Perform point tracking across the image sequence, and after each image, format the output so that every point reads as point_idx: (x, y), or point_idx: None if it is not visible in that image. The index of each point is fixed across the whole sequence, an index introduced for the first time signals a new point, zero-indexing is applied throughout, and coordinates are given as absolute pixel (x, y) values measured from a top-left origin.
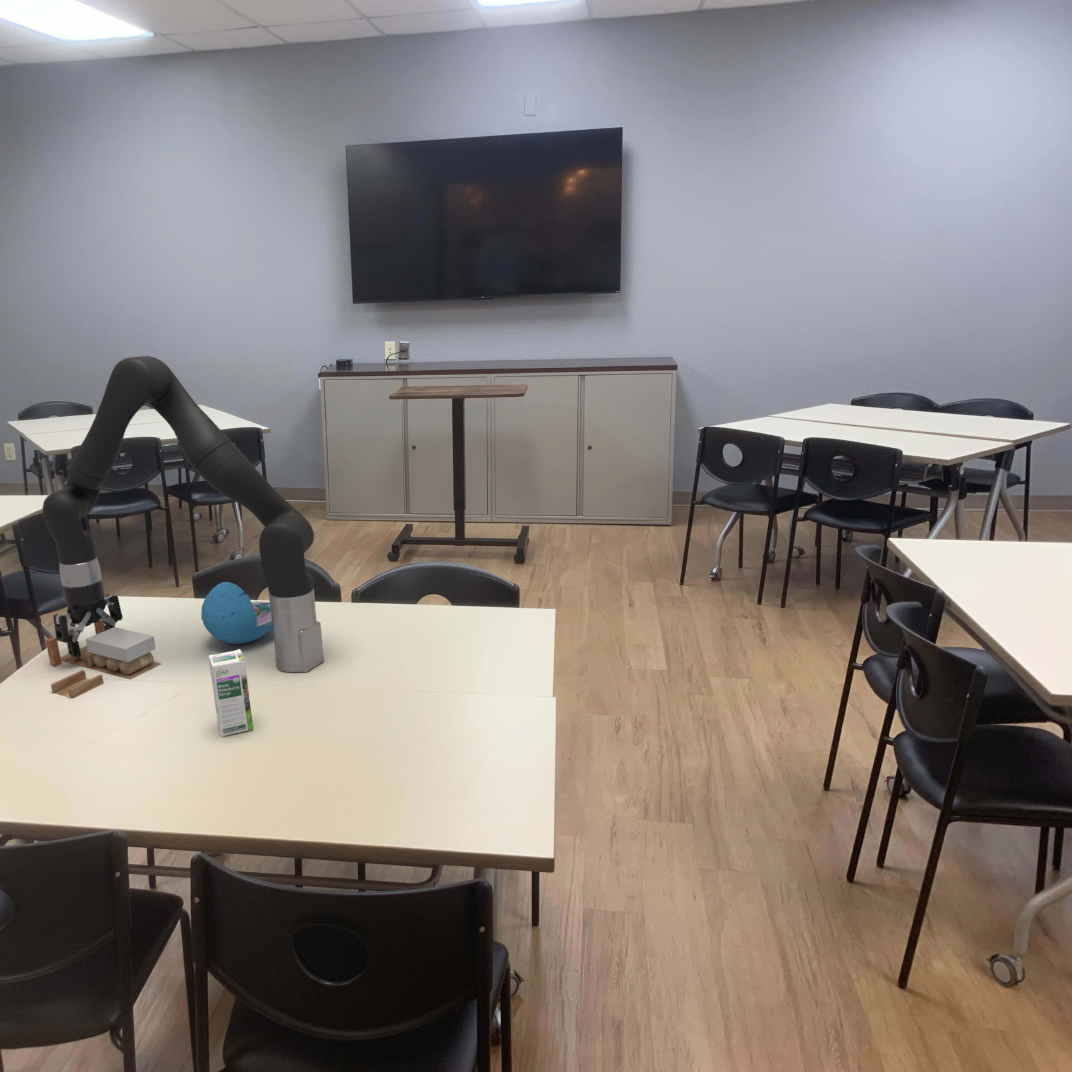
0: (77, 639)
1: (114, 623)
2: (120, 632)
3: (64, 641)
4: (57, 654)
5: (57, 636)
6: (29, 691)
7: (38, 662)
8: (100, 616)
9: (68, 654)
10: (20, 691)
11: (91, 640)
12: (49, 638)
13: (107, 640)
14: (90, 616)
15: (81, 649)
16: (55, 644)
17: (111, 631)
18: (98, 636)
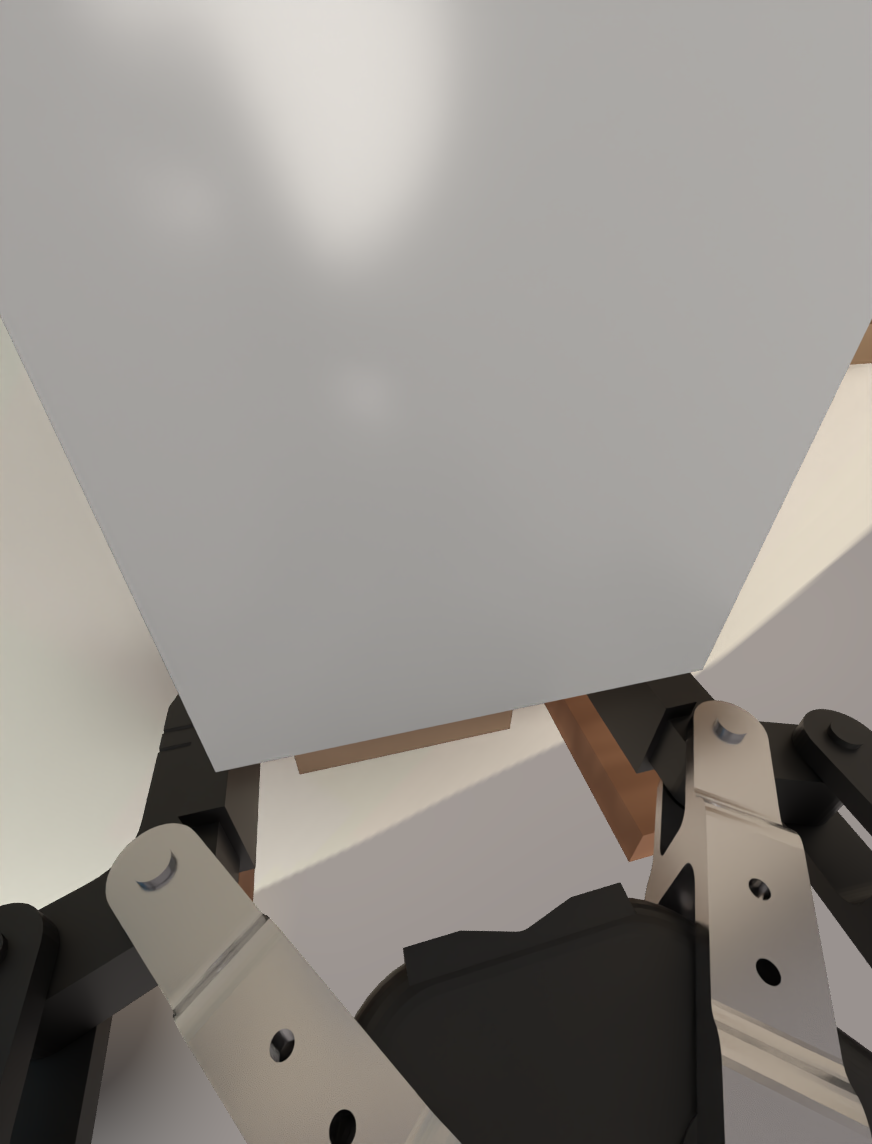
0: (696, 723)
1: (145, 860)
2: (291, 478)
3: (860, 724)
4: (592, 719)
5: (841, 822)
6: (795, 529)
7: (520, 758)
8: (389, 1067)
9: (441, 737)
10: (792, 564)
11: (742, 580)
12: (650, 853)
13: (741, 324)
14: (613, 1106)
15: (362, 749)
16: (634, 787)
17: (365, 656)
18: (599, 629)
